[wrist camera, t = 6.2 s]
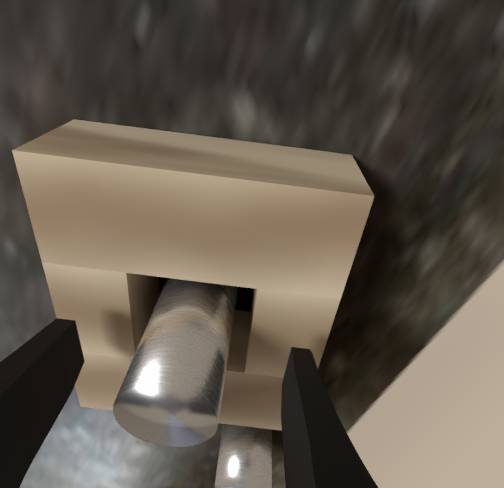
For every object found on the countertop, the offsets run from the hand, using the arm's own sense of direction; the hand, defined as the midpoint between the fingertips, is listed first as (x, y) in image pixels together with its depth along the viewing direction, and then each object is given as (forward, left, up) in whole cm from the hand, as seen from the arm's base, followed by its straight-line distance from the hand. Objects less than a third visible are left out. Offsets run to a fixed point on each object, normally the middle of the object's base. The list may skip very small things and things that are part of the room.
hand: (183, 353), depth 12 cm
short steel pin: (-11, -3, -5) cm, 12 cm away
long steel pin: (0, 0, -5) cm, 5 cm away
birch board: (0, 0, -5) cm, 5 cm away
